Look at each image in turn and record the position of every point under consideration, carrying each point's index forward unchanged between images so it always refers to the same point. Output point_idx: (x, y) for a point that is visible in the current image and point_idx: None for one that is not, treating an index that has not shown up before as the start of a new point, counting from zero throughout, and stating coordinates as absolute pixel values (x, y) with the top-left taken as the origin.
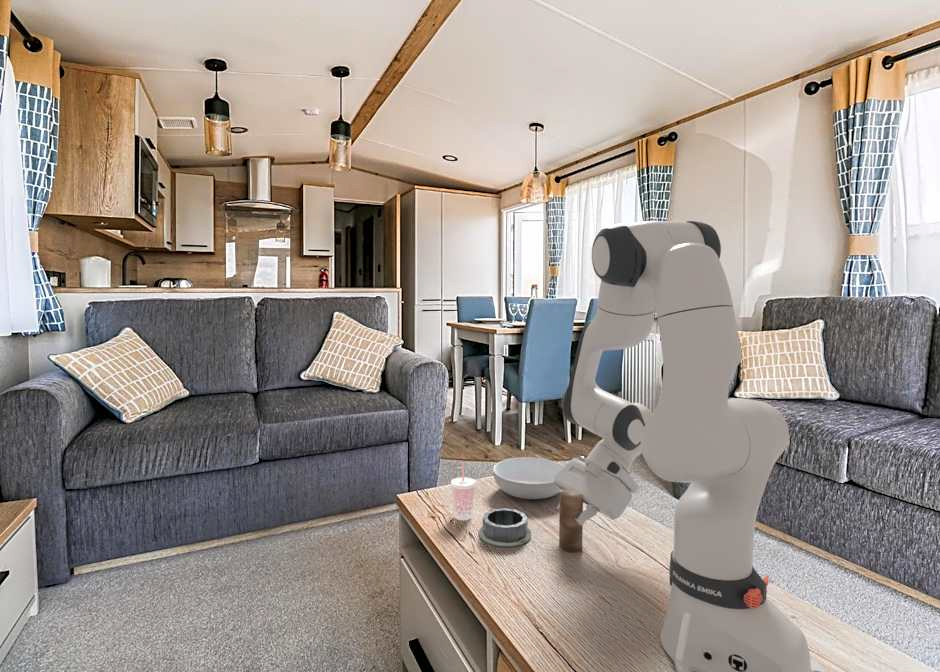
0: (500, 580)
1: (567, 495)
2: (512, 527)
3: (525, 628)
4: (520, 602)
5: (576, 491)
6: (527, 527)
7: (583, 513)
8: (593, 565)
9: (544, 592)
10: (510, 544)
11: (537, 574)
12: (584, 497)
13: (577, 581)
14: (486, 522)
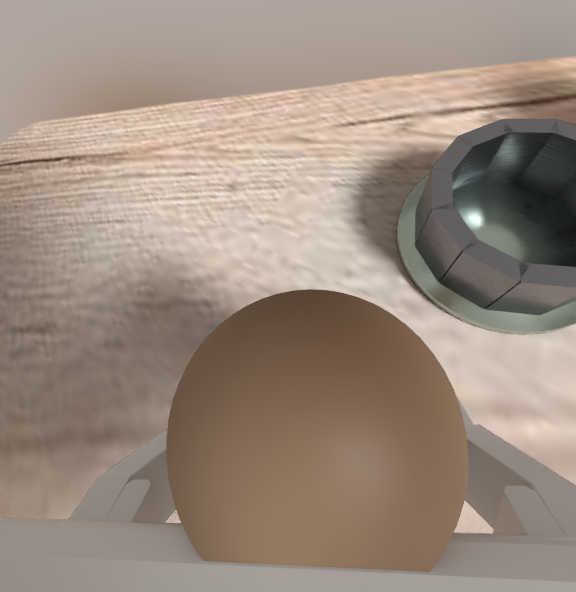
0: (244, 148)
1: (279, 346)
2: (430, 190)
3: (85, 141)
4: (150, 158)
5: (353, 560)
6: (533, 330)
7: (164, 436)
8: None
9: (149, 213)
10: (401, 217)
11: (222, 231)
12: (168, 540)
13: (135, 311)
14: (502, 120)
